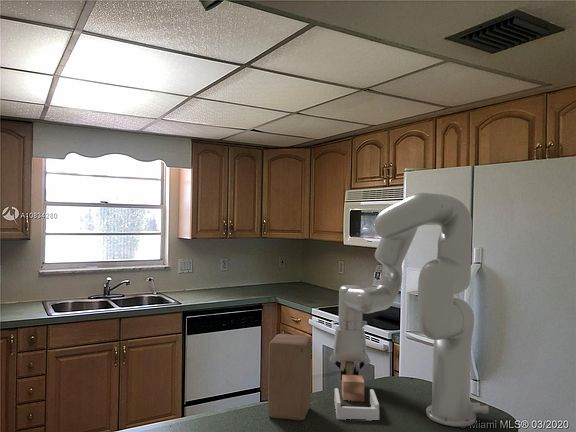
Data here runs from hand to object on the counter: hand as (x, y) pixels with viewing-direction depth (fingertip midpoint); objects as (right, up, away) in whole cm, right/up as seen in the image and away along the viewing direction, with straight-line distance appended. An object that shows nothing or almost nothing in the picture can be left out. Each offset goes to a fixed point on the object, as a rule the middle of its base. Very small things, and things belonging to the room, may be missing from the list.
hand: (349, 382), depth 150 cm
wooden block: (-19, 0, -23) cm, 30 cm away
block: (0, -1, -6) cm, 6 cm away
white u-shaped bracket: (-1, 0, -22) cm, 22 cm away
